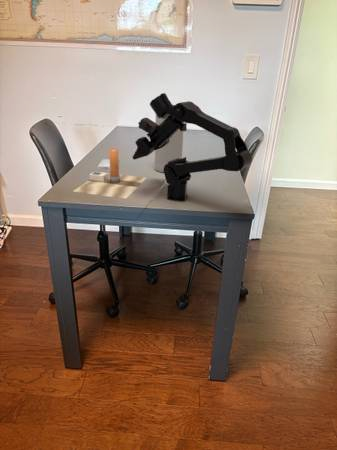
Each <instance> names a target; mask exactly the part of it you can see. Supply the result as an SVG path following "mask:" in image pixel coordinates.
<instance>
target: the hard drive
mask: <svg viewBox="0 0 337 450" xmlns="http://www.w3.org/2000/svg"><path fill="white" fill-rule="evenodd" d="M97 169H99V170H110V158H103V159H102V160H101V161H100V163H99V164H98V165H97Z"/></svg>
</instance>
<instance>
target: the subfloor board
mask: <svg viewBox="0 0 337 450" xmlns="http://www.w3.org/2000/svg"><path fill="white" fill-rule="evenodd" d="M101 172H102V171H101ZM102 173H104V172H102ZM106 173H107V175H108V179H107V180H106V181H104V182H100V181H92V180H90V179H88V180H87V181H85V183H83V184H81V185H80V186H78V187H77V188H76V189H74V190H73V192H74V193H80V194H81V193H82V194H88V195H95V196H100V197H101V196H103V197H110V198H117V199H118V198H119V199H124V200H126V199H127V198H129V197H130V196H131V195H132V193H133V192H134V191H135V190H136V189H137V188H138V187H139V186H140V185H141V184H142V183H143V182H144V181H145V180H146V179H147V177H144V176H143V177H142V176H135V175H127V174H119V175H120V182H119V183H111V182H110V172H106Z"/></svg>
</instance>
